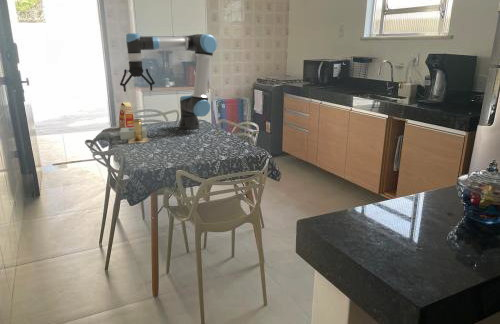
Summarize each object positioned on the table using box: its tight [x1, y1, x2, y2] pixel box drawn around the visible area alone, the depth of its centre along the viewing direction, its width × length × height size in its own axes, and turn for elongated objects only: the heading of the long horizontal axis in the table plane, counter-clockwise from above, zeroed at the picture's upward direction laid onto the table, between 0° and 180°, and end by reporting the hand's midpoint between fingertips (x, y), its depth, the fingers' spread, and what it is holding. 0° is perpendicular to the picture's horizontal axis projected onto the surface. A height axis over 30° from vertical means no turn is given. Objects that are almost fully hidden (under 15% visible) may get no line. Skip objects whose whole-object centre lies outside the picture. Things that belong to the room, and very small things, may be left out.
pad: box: [128, 137, 150, 145], centre depth 238 cm, size 12×10×1 cm
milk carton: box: [118, 100, 136, 130], centre depth 268 cm, size 9×9×20 cm
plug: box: [133, 118, 143, 141], centre depth 236 cm, size 5×5×13 cm
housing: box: [119, 126, 148, 141], centre depth 248 cm, size 16×12×5 cm
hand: (138, 96), depth 233 cm, fingers open, 13 cm apart
